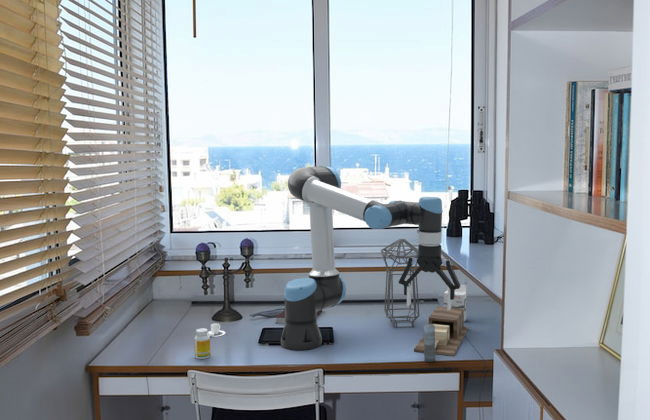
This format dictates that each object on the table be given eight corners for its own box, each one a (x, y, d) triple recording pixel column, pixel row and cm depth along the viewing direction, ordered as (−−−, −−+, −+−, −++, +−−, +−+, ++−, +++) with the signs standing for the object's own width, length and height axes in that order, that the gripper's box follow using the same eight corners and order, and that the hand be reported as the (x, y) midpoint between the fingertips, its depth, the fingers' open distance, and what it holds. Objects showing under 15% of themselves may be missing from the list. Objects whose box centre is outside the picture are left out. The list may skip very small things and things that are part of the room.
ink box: (443, 320, 249) (443, 285, 247) (446, 317, 253) (446, 282, 252) (463, 322, 245) (463, 287, 243) (466, 319, 249) (467, 284, 248)
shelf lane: (454, 356, 207) (454, 333, 206) (413, 351, 212) (413, 329, 211) (468, 329, 236) (468, 309, 236) (432, 325, 242) (432, 306, 241)
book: (323, 312, 265) (322, 304, 265) (307, 326, 245) (306, 318, 244) (293, 310, 269) (292, 302, 269) (274, 324, 249) (274, 315, 248)
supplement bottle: (191, 357, 210) (190, 330, 209) (204, 352, 214) (203, 326, 213) (200, 360, 207) (199, 333, 206) (213, 356, 211) (212, 329, 210)
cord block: (437, 363, 201) (437, 328, 199) (419, 360, 203) (419, 326, 201) (449, 338, 221) (449, 307, 219) (433, 336, 223) (432, 305, 221)
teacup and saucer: (207, 339, 230) (207, 329, 230) (199, 334, 237) (199, 324, 237) (228, 335, 235) (228, 325, 235) (220, 330, 242) (220, 320, 241)
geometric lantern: (384, 330, 236) (384, 242, 233) (380, 319, 252) (380, 236, 248) (425, 329, 237) (425, 241, 233) (418, 318, 252) (418, 235, 248)
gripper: (470, 244, 198) (468, 307, 200) (396, 239, 207) (395, 300, 209) (466, 248, 191) (464, 313, 193) (390, 243, 200) (389, 305, 202)
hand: (428, 306), depth 201 cm, fingers open, 13 cm apart
